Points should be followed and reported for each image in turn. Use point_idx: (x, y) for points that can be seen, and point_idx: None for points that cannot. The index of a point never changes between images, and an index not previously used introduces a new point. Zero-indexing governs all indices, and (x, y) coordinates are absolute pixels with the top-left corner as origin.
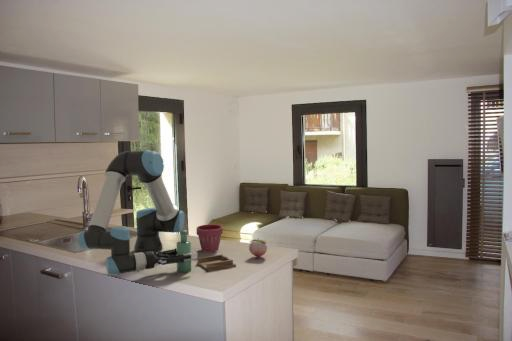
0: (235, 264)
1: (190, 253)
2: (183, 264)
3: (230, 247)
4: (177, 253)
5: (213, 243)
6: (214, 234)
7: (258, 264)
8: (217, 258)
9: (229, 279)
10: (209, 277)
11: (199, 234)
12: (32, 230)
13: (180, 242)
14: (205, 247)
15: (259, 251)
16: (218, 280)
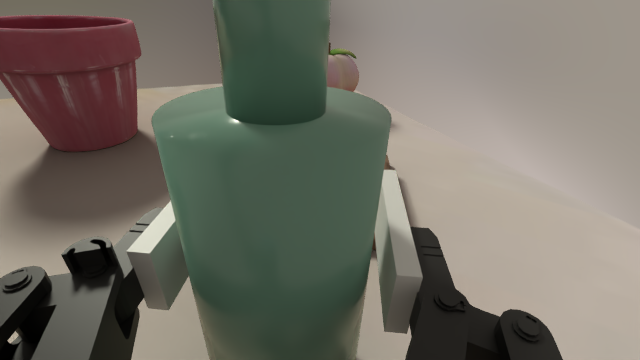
0: (386, 155)
1: (405, 212)
2: (351, 355)
3: (158, 107)
4: (268, 311)
5: (127, 101)
6: (127, 53)
7: (398, 129)
8: None
9: (589, 239)
10: (536, 295)
11: (28, 63)
12: None
13: (226, 120)
14: (90, 130)
15: (352, 88)
16: (612, 282)
